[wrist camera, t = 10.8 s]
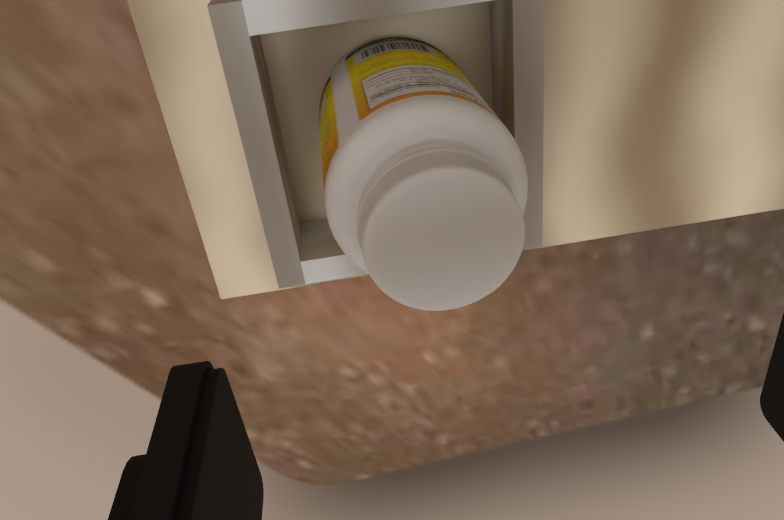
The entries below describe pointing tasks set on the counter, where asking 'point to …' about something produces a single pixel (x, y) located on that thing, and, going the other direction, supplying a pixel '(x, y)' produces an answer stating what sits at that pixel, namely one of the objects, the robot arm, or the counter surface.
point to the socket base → (502, 94)
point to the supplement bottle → (420, 175)
